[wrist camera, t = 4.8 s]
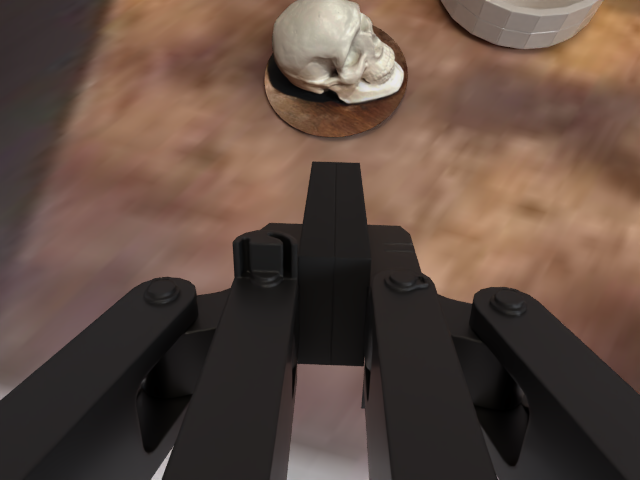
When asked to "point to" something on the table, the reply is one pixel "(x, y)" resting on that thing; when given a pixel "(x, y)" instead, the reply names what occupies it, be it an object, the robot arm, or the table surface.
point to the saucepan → (523, 20)
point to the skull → (333, 69)
